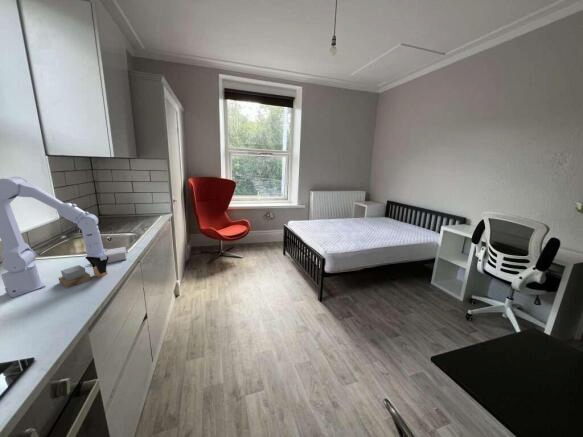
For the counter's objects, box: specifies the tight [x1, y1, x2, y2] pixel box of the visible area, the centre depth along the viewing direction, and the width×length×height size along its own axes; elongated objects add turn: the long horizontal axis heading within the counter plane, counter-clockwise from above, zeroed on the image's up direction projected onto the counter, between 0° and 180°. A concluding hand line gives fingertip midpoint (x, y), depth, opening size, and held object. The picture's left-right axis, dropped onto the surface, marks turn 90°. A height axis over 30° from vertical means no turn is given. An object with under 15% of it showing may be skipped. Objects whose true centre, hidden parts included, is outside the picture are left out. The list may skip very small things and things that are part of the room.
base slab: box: [58, 272, 92, 289], centre depth 102 cm, size 8×8×3 cm
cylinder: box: [92, 266, 108, 278], centre depth 106 cm, size 4×4×4 cm
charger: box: [105, 246, 128, 264], centre depth 122 cm, size 5×9×15 cm
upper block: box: [60, 264, 86, 281], centre depth 101 cm, size 6×6×3 cm
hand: (100, 271), depth 107 cm, fingers closed on cylinder, 4 cm apart
